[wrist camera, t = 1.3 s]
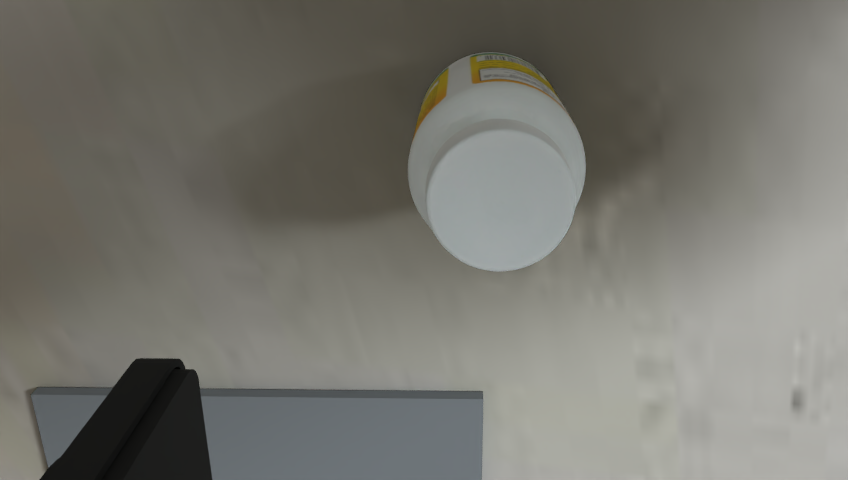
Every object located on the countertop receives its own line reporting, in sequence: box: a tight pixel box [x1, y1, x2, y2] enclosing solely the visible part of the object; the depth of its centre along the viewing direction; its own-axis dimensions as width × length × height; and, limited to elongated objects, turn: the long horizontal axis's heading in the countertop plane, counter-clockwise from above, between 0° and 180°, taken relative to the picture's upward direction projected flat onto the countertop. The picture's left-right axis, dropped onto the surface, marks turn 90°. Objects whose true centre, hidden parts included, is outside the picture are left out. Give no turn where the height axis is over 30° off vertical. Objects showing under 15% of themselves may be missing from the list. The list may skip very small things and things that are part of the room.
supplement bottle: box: [408, 52, 586, 271], centre depth 24 cm, size 5×5×10 cm
